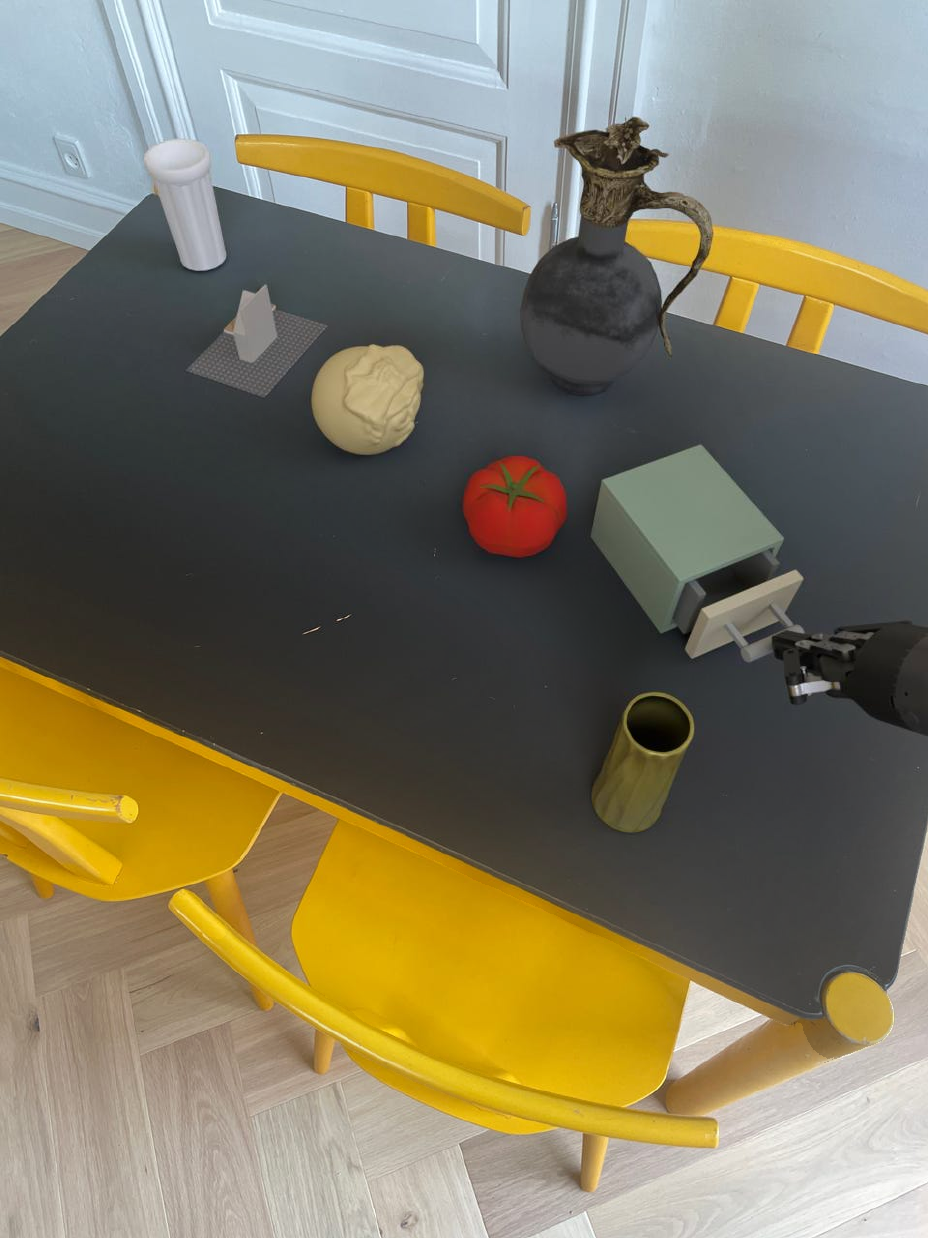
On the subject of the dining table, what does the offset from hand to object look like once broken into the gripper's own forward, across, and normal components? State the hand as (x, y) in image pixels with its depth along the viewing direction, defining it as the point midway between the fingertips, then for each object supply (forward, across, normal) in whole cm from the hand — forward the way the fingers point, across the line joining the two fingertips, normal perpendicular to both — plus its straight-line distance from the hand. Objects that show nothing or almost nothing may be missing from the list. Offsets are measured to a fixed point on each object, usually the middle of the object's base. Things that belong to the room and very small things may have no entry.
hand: (779, 643), depth 76 cm
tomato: (+22, +13, -14) cm, 30 cm away
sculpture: (+37, +21, -28) cm, 51 cm away
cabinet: (+15, 0, -6) cm, 16 cm away
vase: (0, +18, +8) cm, 20 cm away
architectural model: (+51, +28, -42) cm, 72 cm away
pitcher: (+35, -7, -26) cm, 44 cm away
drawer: (+9, 0, -2) cm, 9 cm away
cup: (+66, +30, -57) cm, 92 cm away
